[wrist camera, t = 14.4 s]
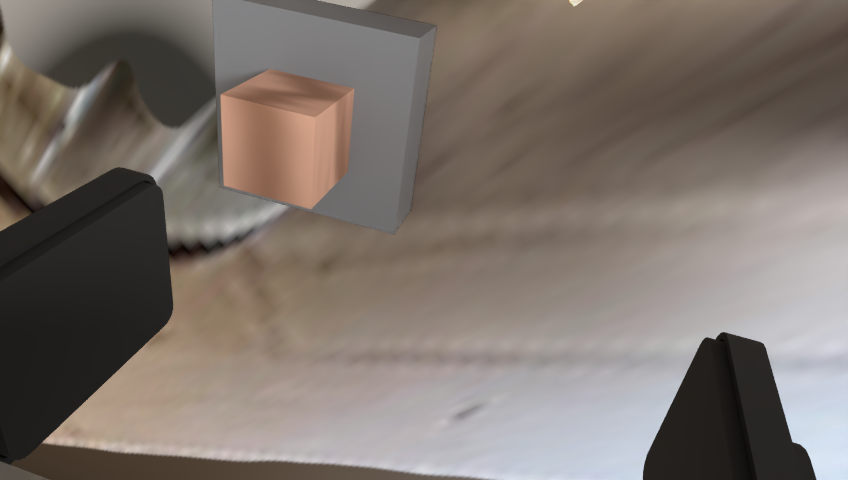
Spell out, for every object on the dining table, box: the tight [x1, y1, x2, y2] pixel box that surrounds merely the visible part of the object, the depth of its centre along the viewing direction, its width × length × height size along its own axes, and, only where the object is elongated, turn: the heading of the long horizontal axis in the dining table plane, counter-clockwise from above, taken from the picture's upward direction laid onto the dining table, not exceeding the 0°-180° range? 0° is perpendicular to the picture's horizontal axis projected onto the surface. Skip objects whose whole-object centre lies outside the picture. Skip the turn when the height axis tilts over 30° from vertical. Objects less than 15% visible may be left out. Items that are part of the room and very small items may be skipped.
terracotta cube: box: [220, 69, 354, 209], centre depth 40 cm, size 6×6×6 cm
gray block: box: [212, 0, 437, 234], centre depth 45 cm, size 14×14×4 cm
